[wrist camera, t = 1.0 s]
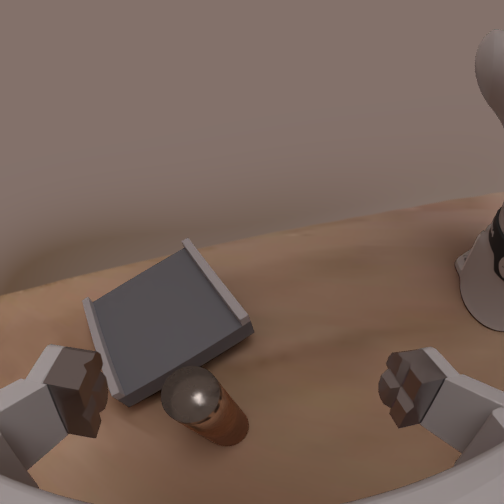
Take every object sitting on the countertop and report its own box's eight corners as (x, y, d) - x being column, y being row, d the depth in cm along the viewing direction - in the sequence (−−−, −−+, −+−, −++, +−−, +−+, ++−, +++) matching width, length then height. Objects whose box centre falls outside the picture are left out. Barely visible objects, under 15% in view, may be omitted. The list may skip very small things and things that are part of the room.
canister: (234, 398, 39) (201, 355, 29) (257, 431, 35) (231, 402, 25) (198, 419, 37) (151, 384, 27) (219, 453, 34) (177, 433, 23)
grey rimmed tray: (201, 267, 55) (188, 237, 50) (257, 341, 44) (248, 314, 38) (104, 325, 50) (82, 300, 45) (139, 413, 38) (111, 396, 33)
